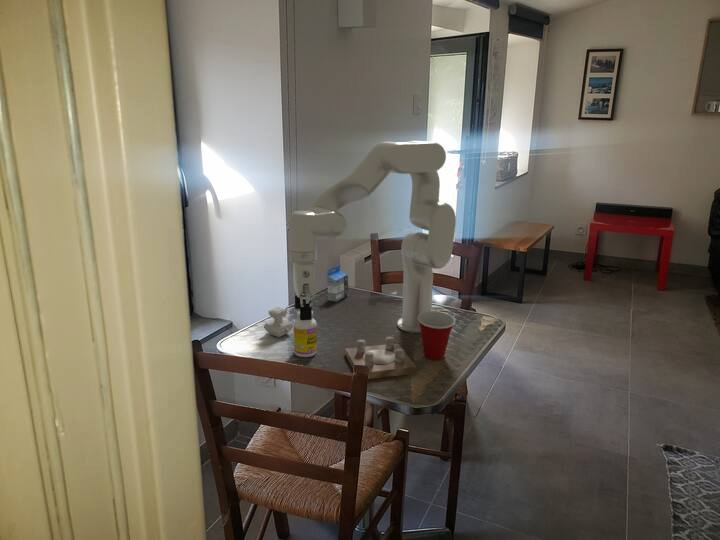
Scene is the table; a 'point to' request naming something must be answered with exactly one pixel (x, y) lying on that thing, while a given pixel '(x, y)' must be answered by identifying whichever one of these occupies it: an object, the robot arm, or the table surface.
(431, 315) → the plastic cup
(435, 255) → the robot arm
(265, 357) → the table surface
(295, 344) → the supplement bottle
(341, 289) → the label tape box
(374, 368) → the stub board
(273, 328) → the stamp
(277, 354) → the table surface
